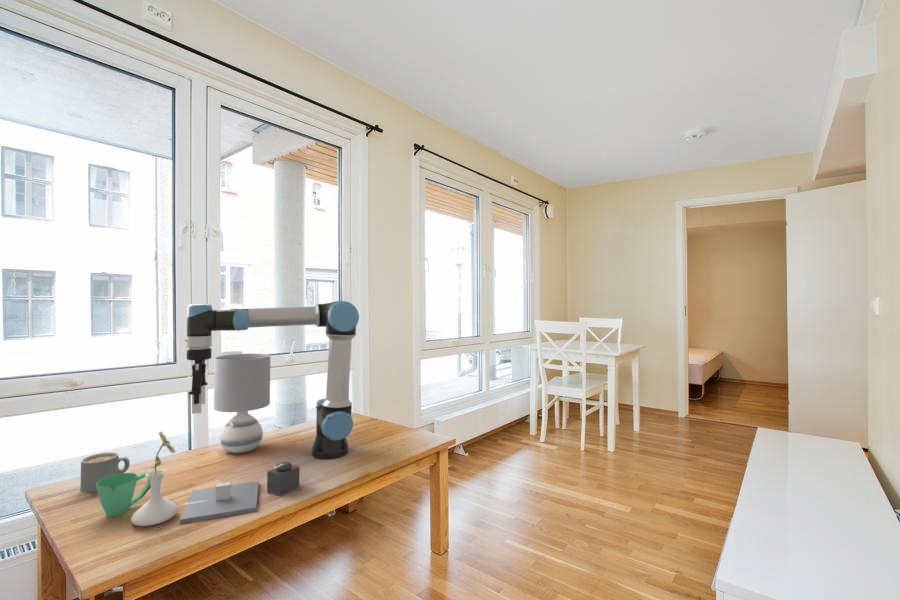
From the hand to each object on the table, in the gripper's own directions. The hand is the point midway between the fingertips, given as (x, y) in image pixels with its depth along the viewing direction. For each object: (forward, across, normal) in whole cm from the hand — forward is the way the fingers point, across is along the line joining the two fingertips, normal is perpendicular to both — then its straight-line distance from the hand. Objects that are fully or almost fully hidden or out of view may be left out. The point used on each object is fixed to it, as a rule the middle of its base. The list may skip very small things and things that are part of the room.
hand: (198, 408), depth 147 cm
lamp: (+27, -31, +13) cm, 43 cm away
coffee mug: (+27, -12, -29) cm, 41 cm away
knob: (+27, +17, +27) cm, 41 cm away
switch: (+26, +19, +9) cm, 34 cm away
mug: (+27, +11, -18) cm, 34 cm away
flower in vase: (+27, +22, -9) cm, 36 cm away
